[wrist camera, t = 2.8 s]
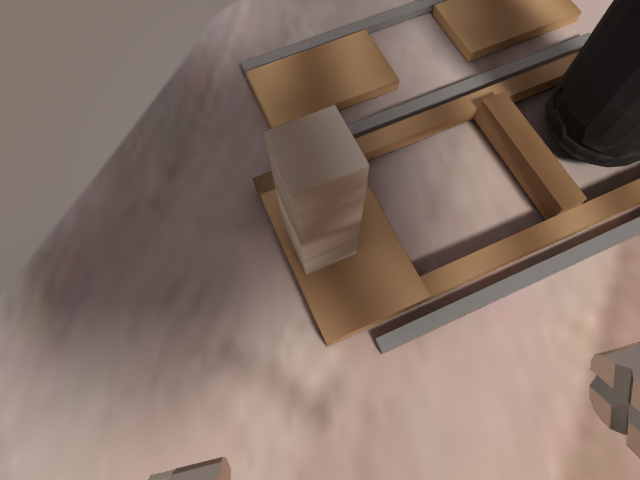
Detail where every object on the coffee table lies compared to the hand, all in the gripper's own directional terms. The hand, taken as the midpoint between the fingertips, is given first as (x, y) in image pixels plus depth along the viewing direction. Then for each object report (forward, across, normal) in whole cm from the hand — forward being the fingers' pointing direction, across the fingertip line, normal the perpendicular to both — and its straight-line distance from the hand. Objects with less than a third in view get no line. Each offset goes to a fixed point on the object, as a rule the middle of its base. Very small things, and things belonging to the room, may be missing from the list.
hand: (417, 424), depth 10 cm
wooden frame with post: (+18, -11, +2) cm, 21 cm away
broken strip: (+26, -10, -6) cm, 28 cm away
